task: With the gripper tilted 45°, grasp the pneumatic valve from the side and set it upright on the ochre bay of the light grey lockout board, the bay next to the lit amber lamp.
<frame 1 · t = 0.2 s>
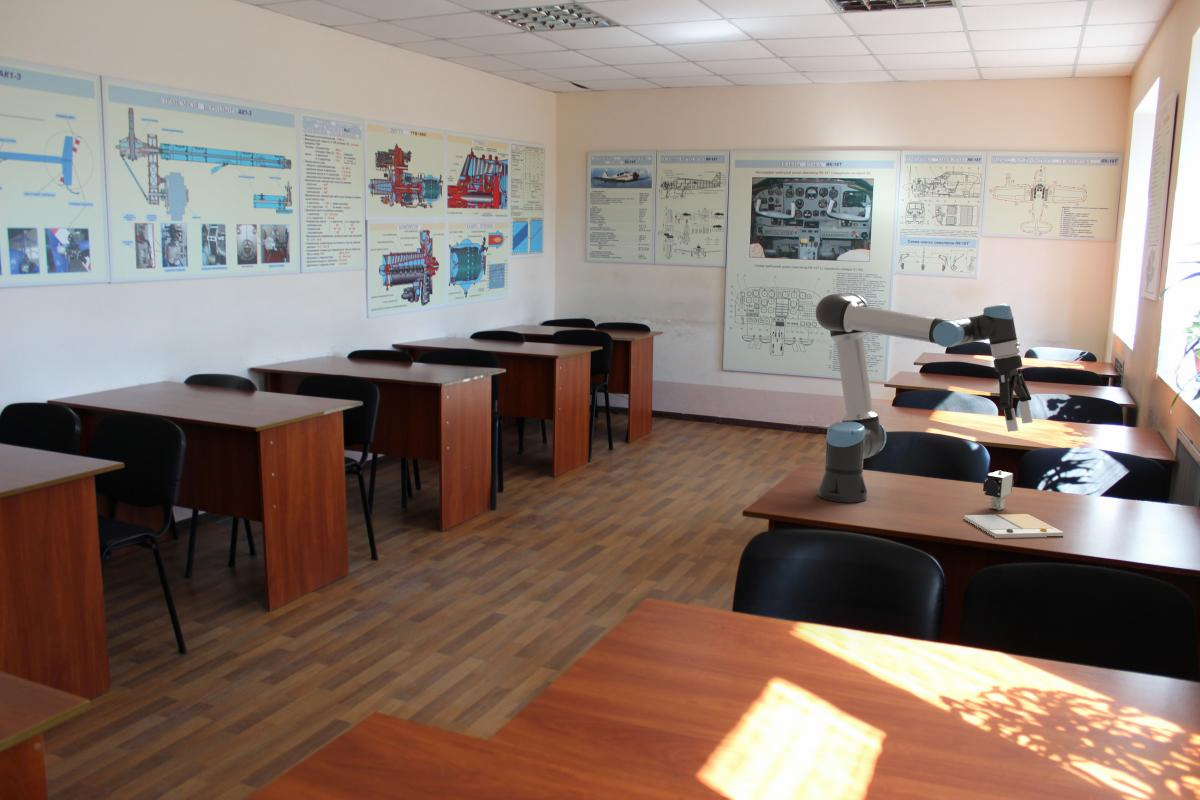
hand: (1020, 426, 281), 27 cm above the table, tool pointing down, fingers open, 13 cm apart
lockout board: (1012, 527, 273), on the table
pneumatic valve: (995, 508, 293), on the table
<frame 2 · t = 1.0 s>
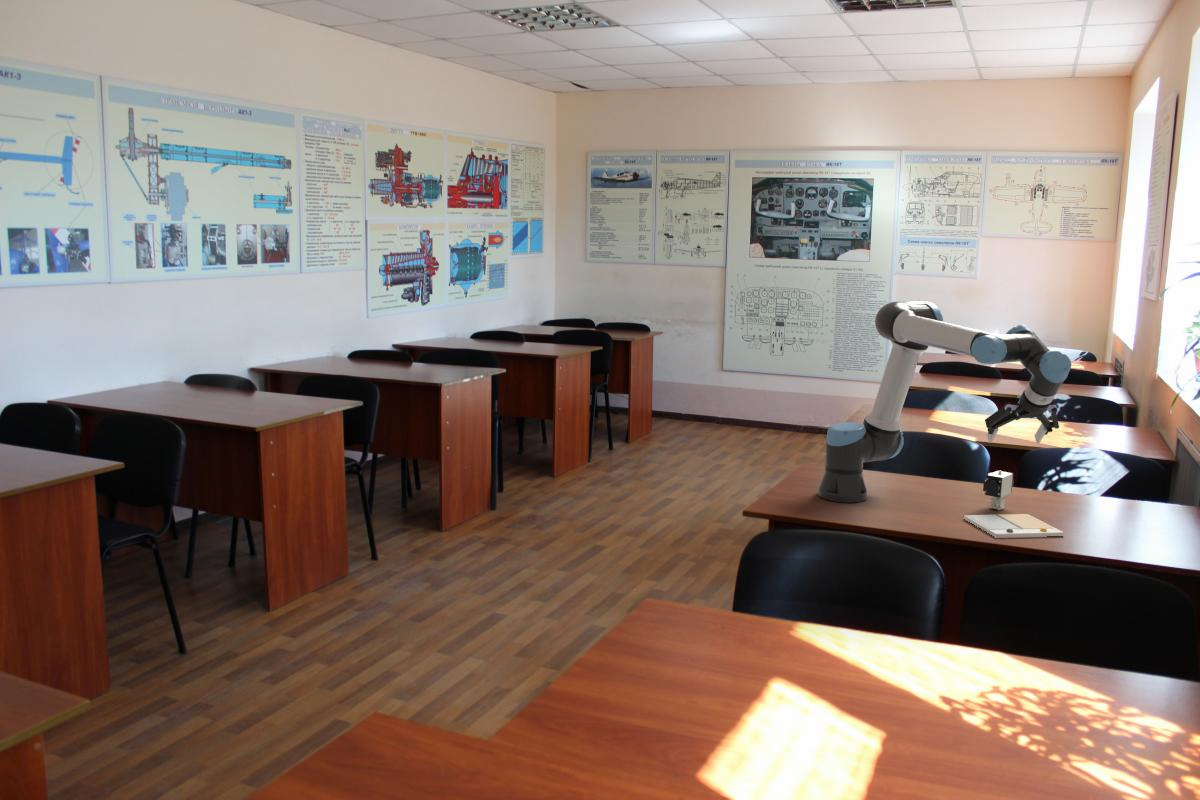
hand: (1012, 439, 277), 24 cm above the table, tool tilted 45°, fingers open, 13 cm apart
nothing on the table moved.
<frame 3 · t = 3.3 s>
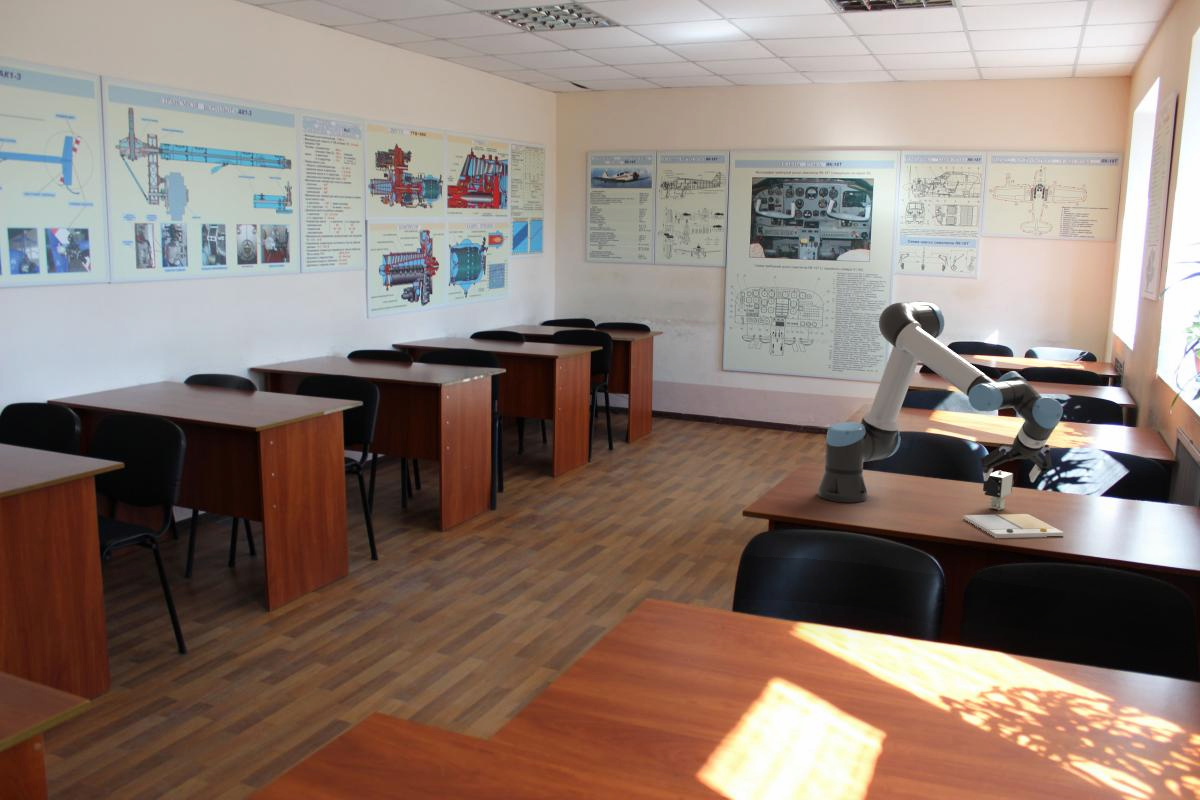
hand: (1007, 477, 285), 11 cm above the table, tool tilted 45°, fingers open, 13 cm apart
nothing on the table moved.
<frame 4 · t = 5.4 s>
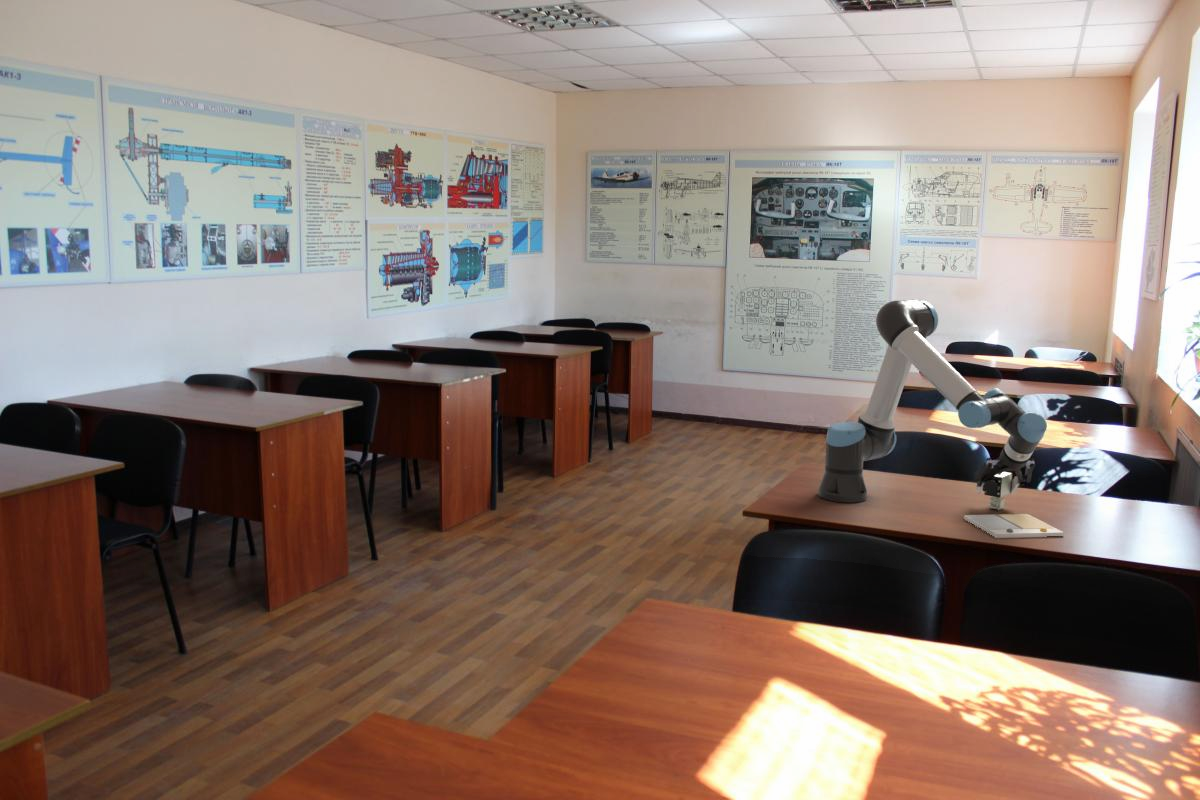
hand: (994, 490, 295), 5 cm above the table, tool tilted 45°, fingers open, 9 cm apart
pneumatic valve: (995, 508, 293), on the table, touching gripper
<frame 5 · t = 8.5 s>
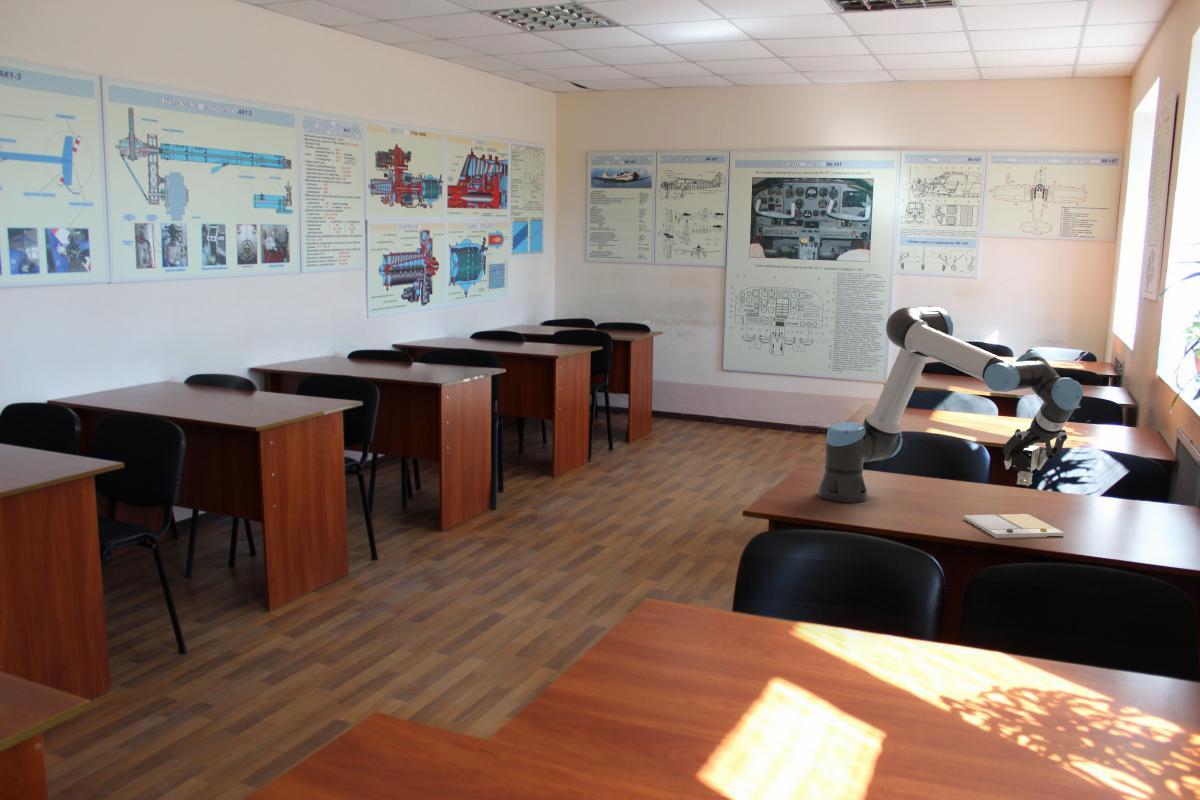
hand: (1022, 465, 278), 16 cm above the table, tool tilted 45°, fingers closed on pneumatic valve, 8 cm apart
pneumatic valve: (1022, 484, 276), point 11 cm above the table, touching gripper
when the fingers open (7 cm above the table, at t = 11.1 s): pneumatic valve drops 1 cm, resting on lockout board.
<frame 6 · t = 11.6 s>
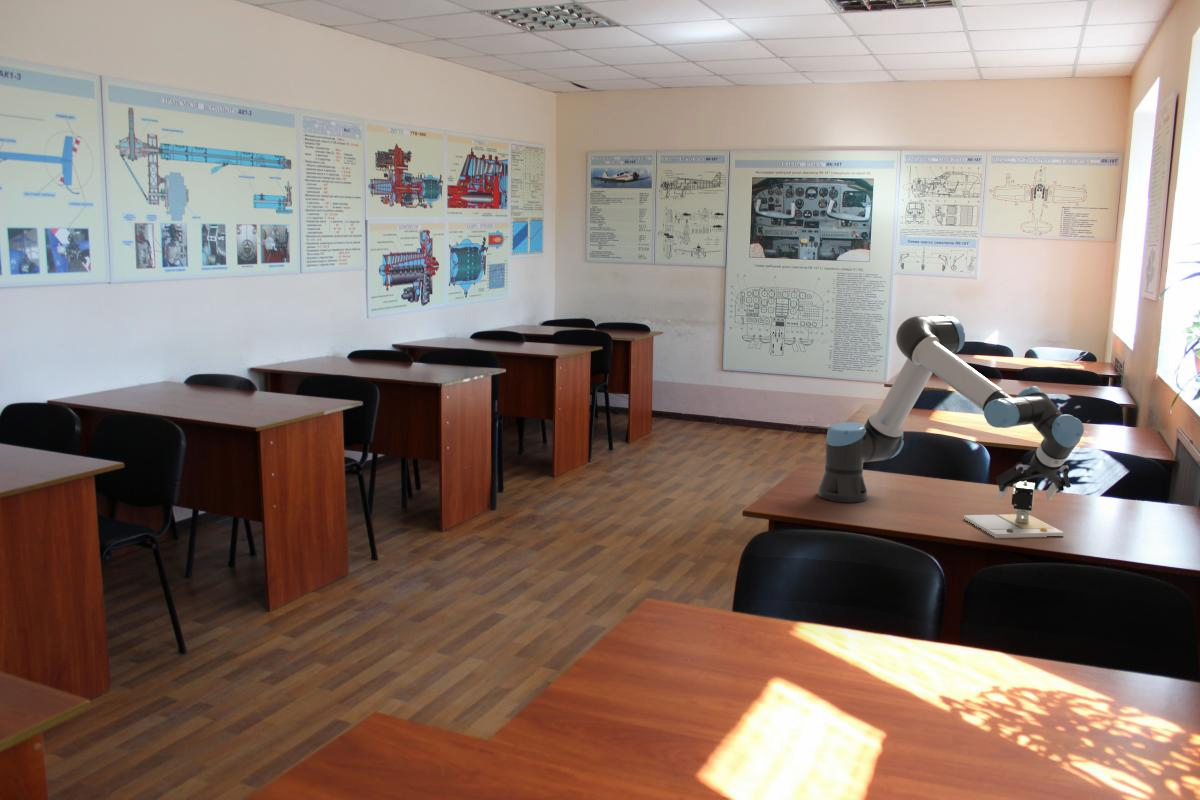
hand: (1024, 496, 276), 8 cm above the table, tool tilted 45°, fingers open, 13 cm apart
pneumatic valve: (1020, 522, 274), point 1 cm above the table, touching lockout board
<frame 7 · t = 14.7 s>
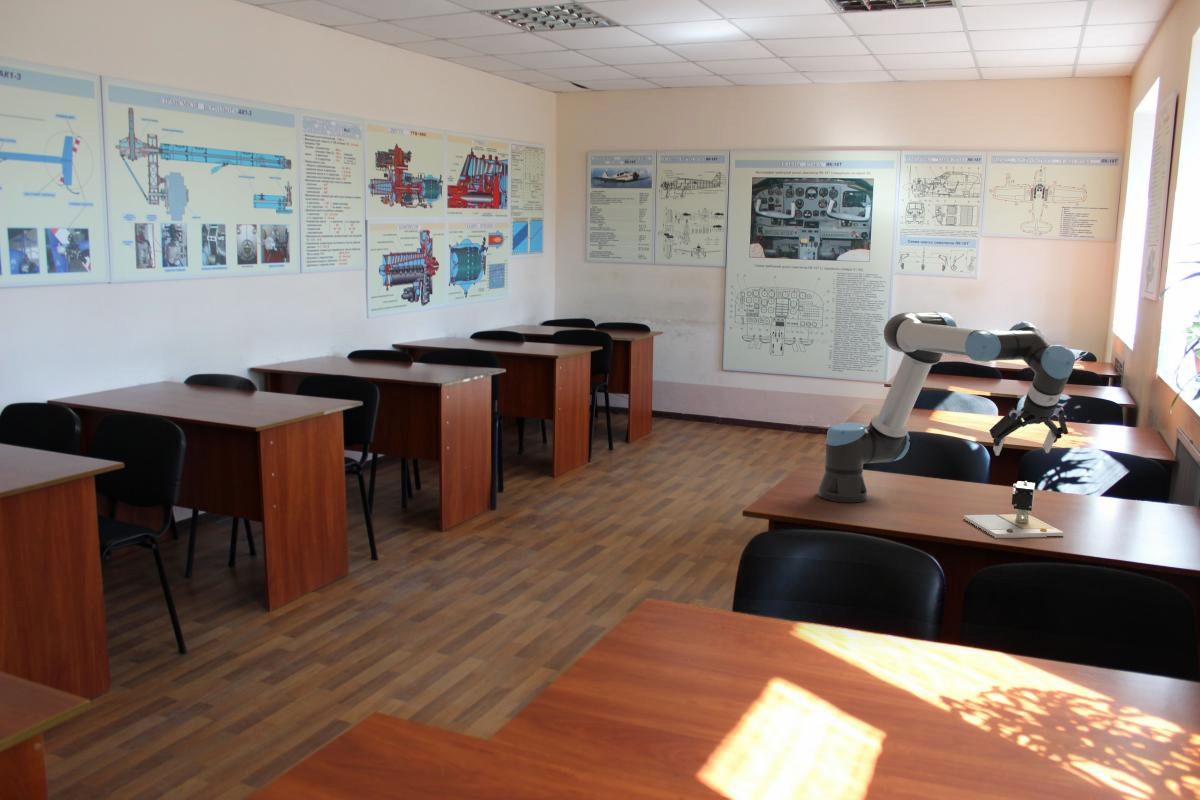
hand: (1020, 450, 261), 24 cm above the table, tool tilted 35°, fingers open, 13 cm apart
nothing on the table moved.
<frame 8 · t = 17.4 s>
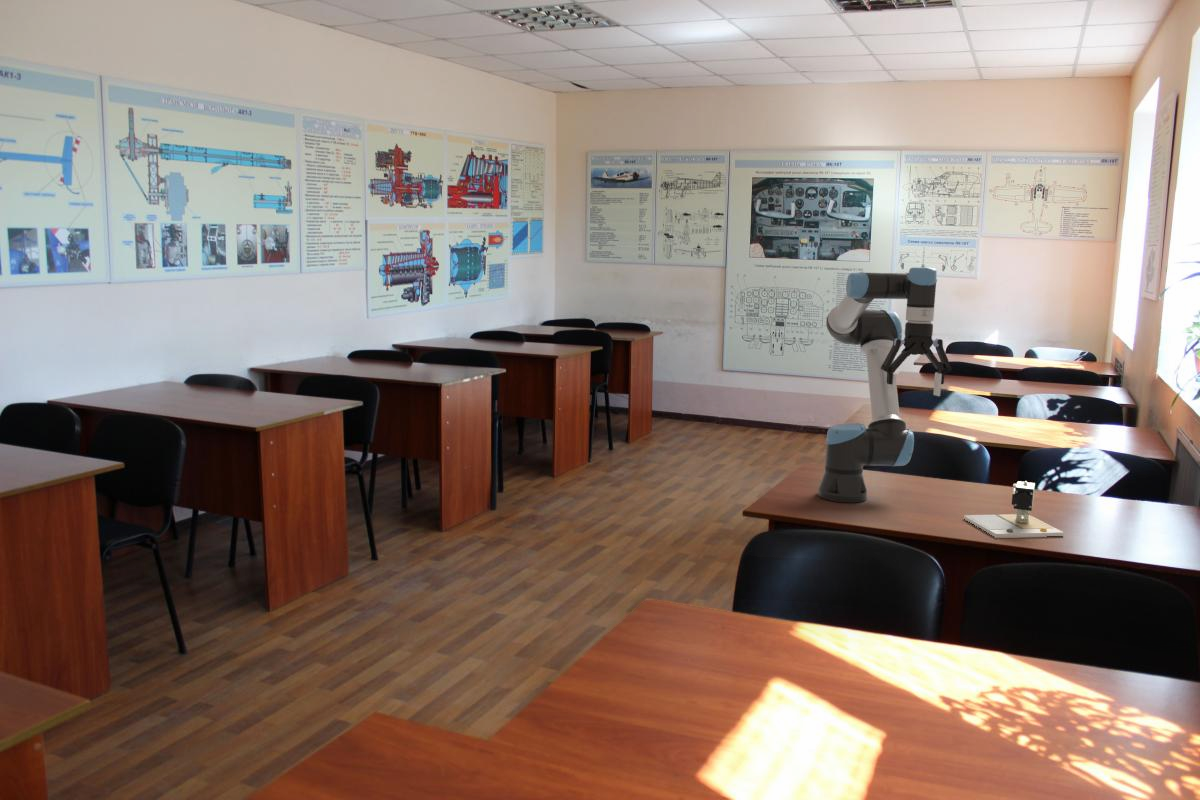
hand: (914, 395, 274), 37 cm above the table, tool pointing down, fingers open, 13 cm apart
nothing on the table moved.
at the end: pneumatic valve 1.8 cm from the target spot on the lockout board, point 1.1 cm above the lockout board's base; pneumatic valve tilted 0°; the gripper is holding nothing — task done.
